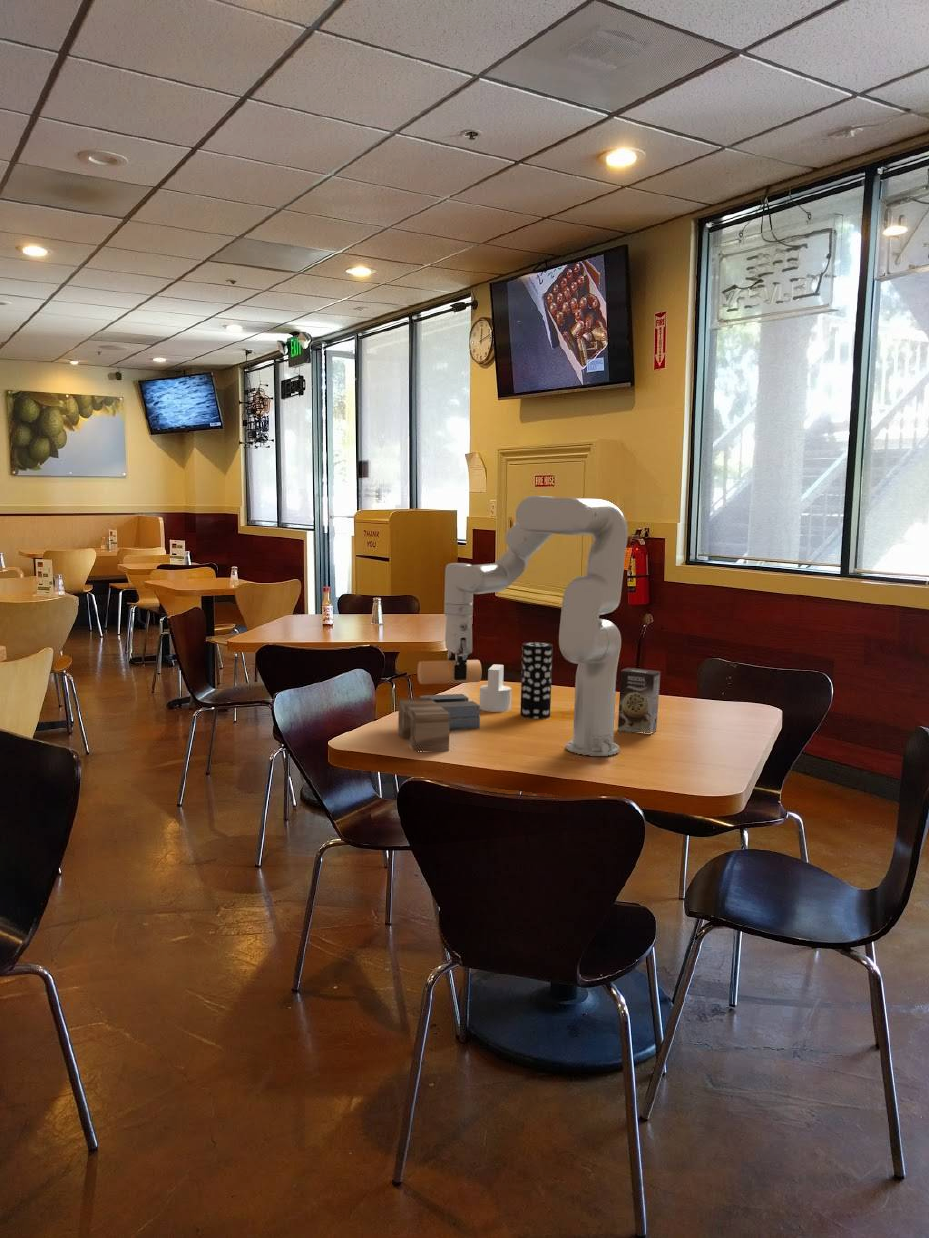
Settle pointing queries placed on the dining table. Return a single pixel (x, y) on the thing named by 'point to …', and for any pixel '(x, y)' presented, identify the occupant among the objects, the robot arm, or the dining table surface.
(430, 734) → the beam
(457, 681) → the tan cylinder
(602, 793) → the dining table surface
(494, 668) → the base with upright slab
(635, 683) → the coffee box
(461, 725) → the v block
